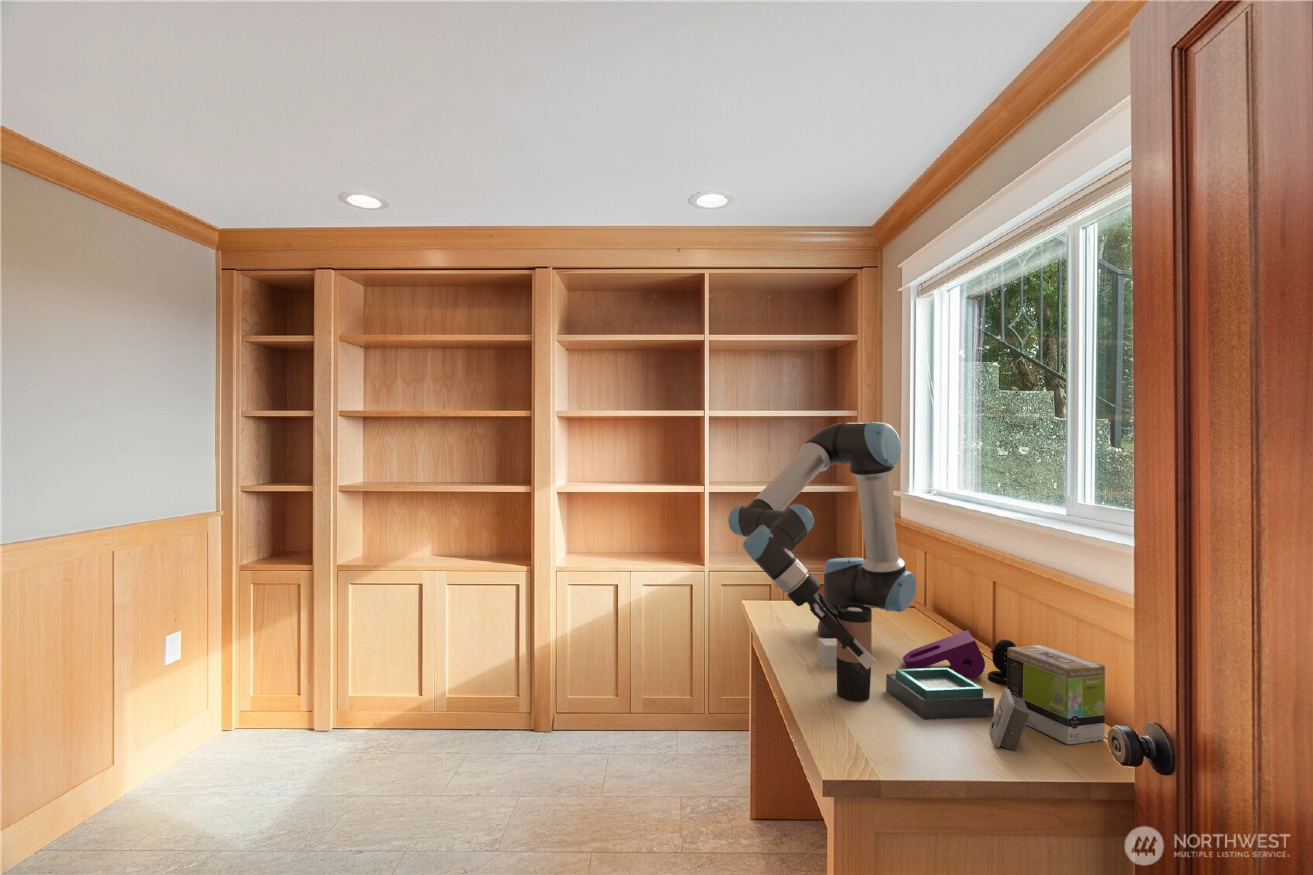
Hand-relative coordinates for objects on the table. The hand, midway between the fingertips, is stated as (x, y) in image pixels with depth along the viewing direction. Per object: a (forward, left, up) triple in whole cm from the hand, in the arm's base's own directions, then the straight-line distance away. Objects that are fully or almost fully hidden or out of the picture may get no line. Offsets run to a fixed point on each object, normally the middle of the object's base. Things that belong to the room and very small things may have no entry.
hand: (869, 659), depth 149 cm
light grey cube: (-22, +1, -9) cm, 24 cm away
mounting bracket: (-16, +28, -9) cm, 33 cm away
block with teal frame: (+5, +14, -9) cm, 17 cm away
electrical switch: (+24, +17, -9) cm, 30 cm away
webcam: (-7, +39, -9) cm, 40 cm away
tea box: (+19, +31, -9) cm, 37 cm away
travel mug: (-1, -3, -9) cm, 9 cm away
